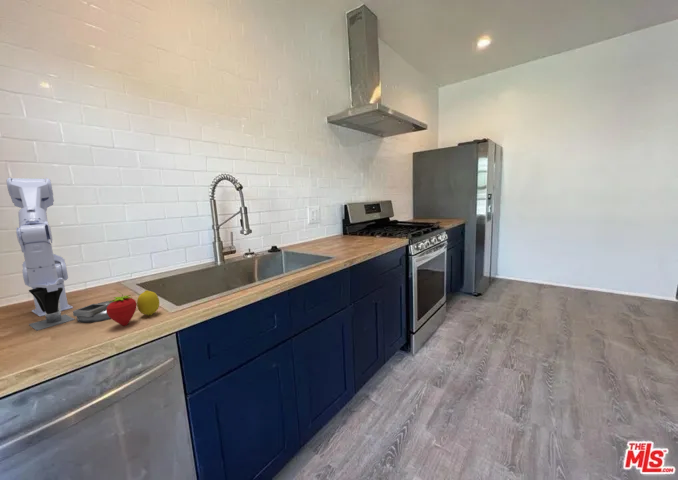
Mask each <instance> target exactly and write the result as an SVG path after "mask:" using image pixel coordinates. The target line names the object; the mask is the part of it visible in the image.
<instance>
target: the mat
mask: <svg viewBox="0 0 678 480" xmlns="http://www.w3.org/2000/svg"><path fill="white" fill-rule="evenodd" d="M61 317H62V320H60V321H57V322H53V323H47V322H46V319H43V320H40V321H36V322H32V323H28V326H30V327H31V328H32V329H34V330H35V331H36V332H37V331H40V330H45V329H48V328H52V327H55V326H59V325H62V324H66V323H69V322H72V321H75V318H74V317H71V316H70V315H68V314H61Z"/></svg>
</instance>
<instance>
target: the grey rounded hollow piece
mask: <svg viewBox="0 0 678 480" xmlns="http://www.w3.org/2000/svg"><path fill="white" fill-rule="evenodd" d="M112 300H113V299H112ZM112 300H107V301H102V302H97V303H92V304H89V305H87V306H84V307H80V308H76V309H75V310H74V309H73V311H72V314H73V317H76V319H77V322H78V323H83V324H85V323H86V324H88V323H89V324H91V323H97V322H102V321H108V320H112V319H111V318H110V317H109V316H108V314H107V313H106V309H107V306H108V305H109V304H110V303H112V302H114V301H112ZM109 301H111V302H109Z"/></svg>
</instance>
